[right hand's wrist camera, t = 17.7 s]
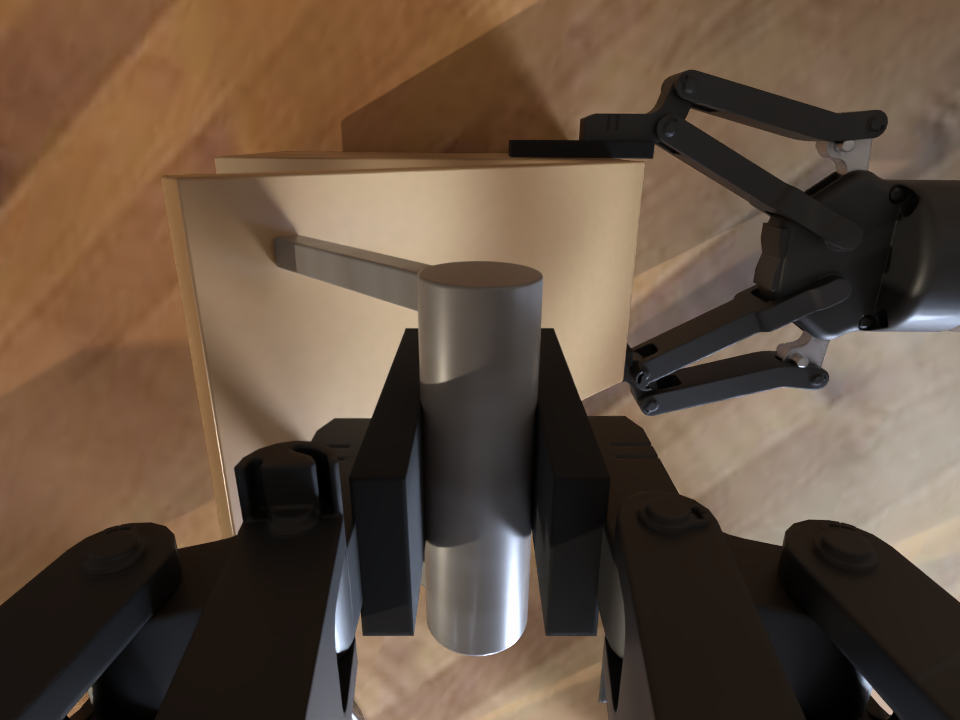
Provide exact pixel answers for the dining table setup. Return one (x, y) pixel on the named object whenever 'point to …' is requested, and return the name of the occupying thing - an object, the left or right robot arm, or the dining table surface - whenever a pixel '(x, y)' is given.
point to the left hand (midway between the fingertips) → (507, 254)
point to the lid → (381, 324)
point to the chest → (371, 160)
